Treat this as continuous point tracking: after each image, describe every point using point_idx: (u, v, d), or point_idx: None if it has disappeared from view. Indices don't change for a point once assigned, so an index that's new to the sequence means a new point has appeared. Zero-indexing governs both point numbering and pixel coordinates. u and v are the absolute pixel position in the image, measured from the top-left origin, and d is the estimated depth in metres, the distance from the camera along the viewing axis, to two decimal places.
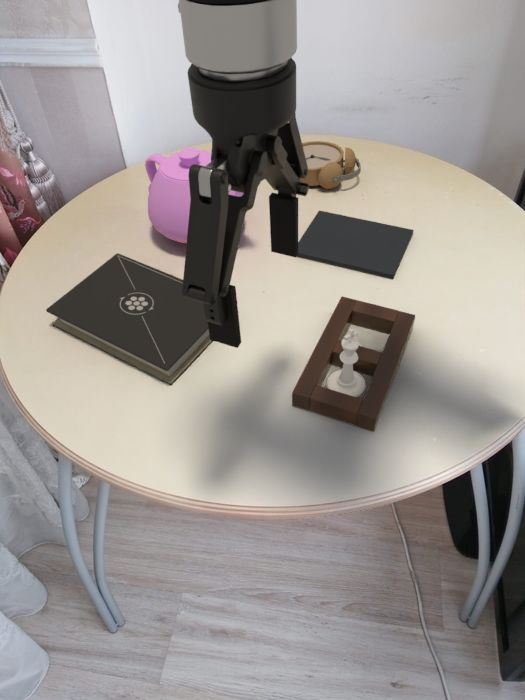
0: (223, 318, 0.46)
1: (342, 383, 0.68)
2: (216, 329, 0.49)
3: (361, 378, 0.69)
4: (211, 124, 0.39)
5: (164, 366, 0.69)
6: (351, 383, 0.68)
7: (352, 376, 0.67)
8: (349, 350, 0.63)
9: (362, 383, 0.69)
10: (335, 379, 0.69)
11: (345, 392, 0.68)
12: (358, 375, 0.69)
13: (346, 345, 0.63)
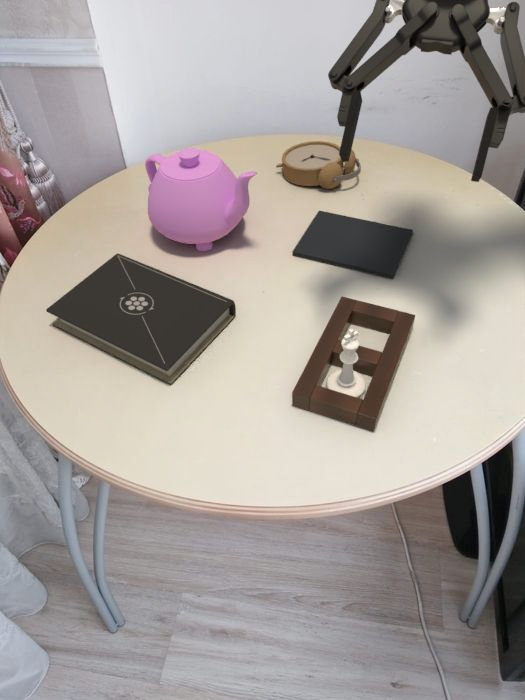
0: (342, 116, 0.59)
1: (342, 383, 0.68)
2: None
3: (361, 378, 0.69)
4: None
5: (164, 366, 0.69)
6: (351, 383, 0.68)
7: (352, 376, 0.67)
8: (349, 350, 0.63)
9: (362, 383, 0.69)
10: (335, 379, 0.69)
11: (345, 392, 0.68)
12: (358, 375, 0.69)
13: (346, 345, 0.63)
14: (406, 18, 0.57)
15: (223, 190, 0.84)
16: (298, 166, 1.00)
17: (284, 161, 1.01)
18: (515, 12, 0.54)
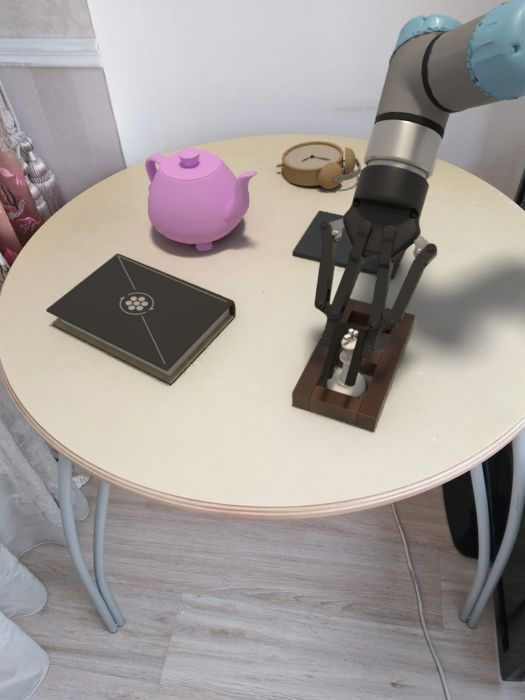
0: (325, 342, 0.63)
1: (342, 383, 0.68)
2: None
3: (361, 378, 0.69)
4: None
5: (164, 366, 0.69)
6: None
7: None
8: (349, 350, 0.63)
9: (362, 383, 0.69)
10: (335, 379, 0.69)
11: (345, 392, 0.68)
12: (358, 375, 0.69)
13: (346, 345, 0.63)
14: (346, 229, 0.62)
15: (223, 190, 0.84)
16: (298, 166, 1.00)
17: (284, 161, 1.01)
18: (430, 253, 0.59)
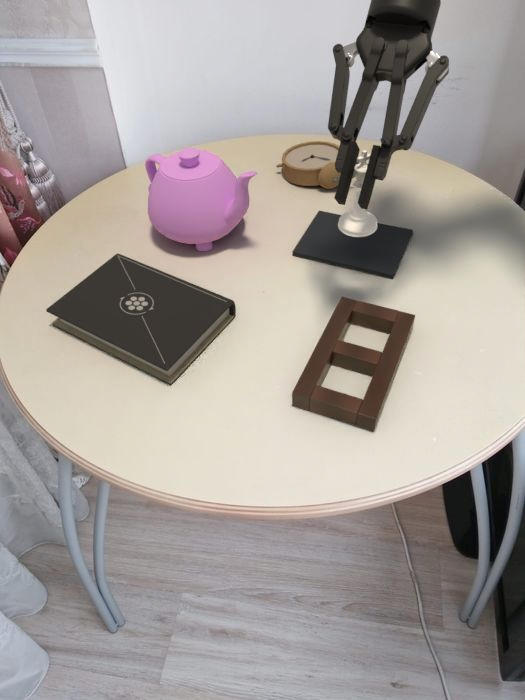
0: (339, 164, 0.64)
1: (354, 217, 0.69)
2: None
3: (372, 216, 0.70)
4: None
5: (164, 366, 0.69)
6: (363, 217, 0.69)
7: (364, 209, 0.69)
8: (362, 173, 0.64)
9: (374, 220, 0.70)
10: (347, 216, 0.70)
11: (357, 226, 0.69)
12: (369, 213, 0.71)
13: (359, 169, 0.64)
14: (359, 51, 0.63)
15: (223, 190, 0.84)
16: (298, 166, 1.00)
17: (284, 161, 1.01)
18: (442, 65, 0.60)
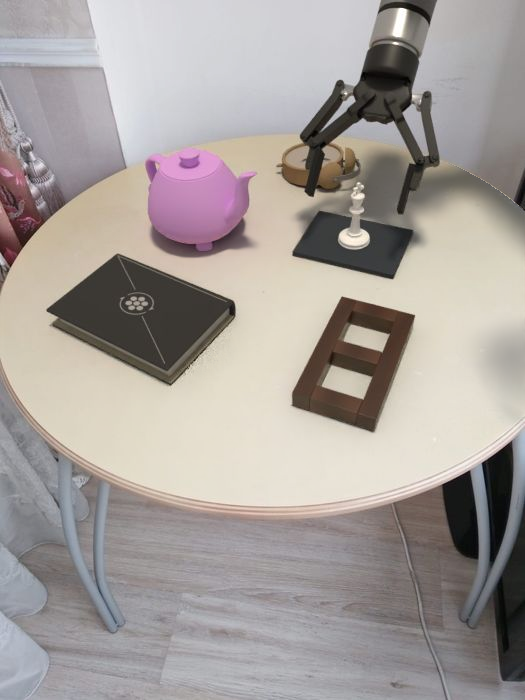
0: (308, 165, 0.82)
1: (351, 234, 0.87)
2: None
3: (366, 232, 0.88)
4: None
5: (164, 366, 0.69)
6: (358, 234, 0.87)
7: (359, 228, 0.86)
8: (357, 200, 0.82)
9: (367, 235, 0.88)
10: (345, 233, 0.88)
11: (353, 241, 0.87)
12: (363, 230, 0.88)
13: (354, 196, 0.82)
14: (355, 99, 0.80)
15: (223, 190, 0.84)
16: (298, 166, 1.00)
17: (284, 161, 1.01)
18: (428, 98, 0.77)
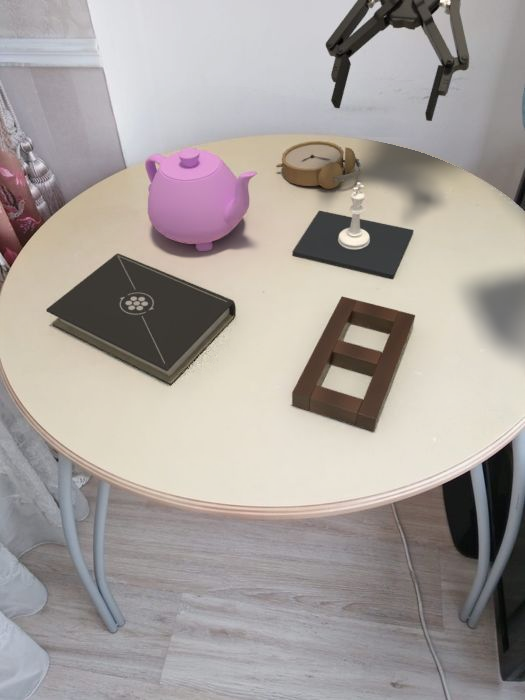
0: (334, 74, 0.82)
1: (351, 234, 0.87)
2: None
3: (366, 232, 0.88)
4: None
5: (164, 366, 0.69)
6: (358, 234, 0.87)
7: (359, 228, 0.86)
8: (357, 200, 0.82)
9: (367, 235, 0.88)
10: (345, 233, 0.88)
11: (353, 241, 0.87)
12: (363, 230, 0.88)
13: (354, 196, 0.82)
14: (382, 3, 0.79)
15: (223, 190, 0.84)
16: (298, 166, 1.00)
17: (284, 161, 1.01)
18: None
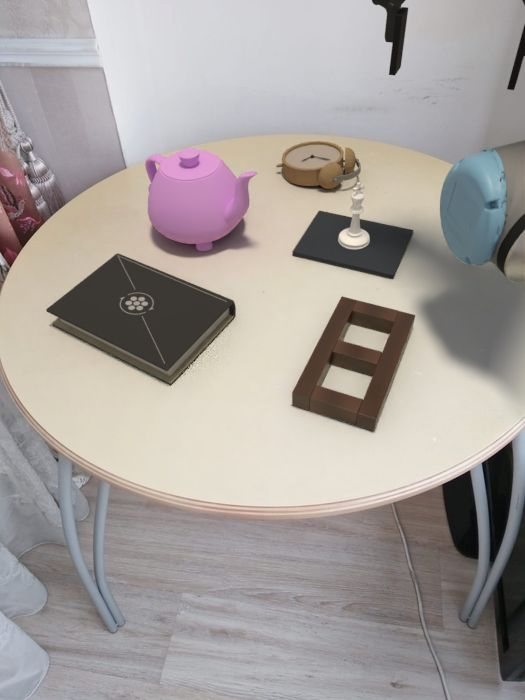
0: (389, 37, 0.65)
1: (351, 234, 0.87)
2: None
3: (366, 232, 0.88)
4: None
5: (164, 366, 0.69)
6: (358, 234, 0.87)
7: (359, 228, 0.86)
8: (357, 200, 0.82)
9: (367, 235, 0.88)
10: (345, 233, 0.88)
11: (353, 241, 0.87)
12: (363, 230, 0.88)
13: (355, 196, 0.82)
14: None
15: (223, 190, 0.84)
16: (298, 166, 1.00)
17: (284, 161, 1.01)
18: None
